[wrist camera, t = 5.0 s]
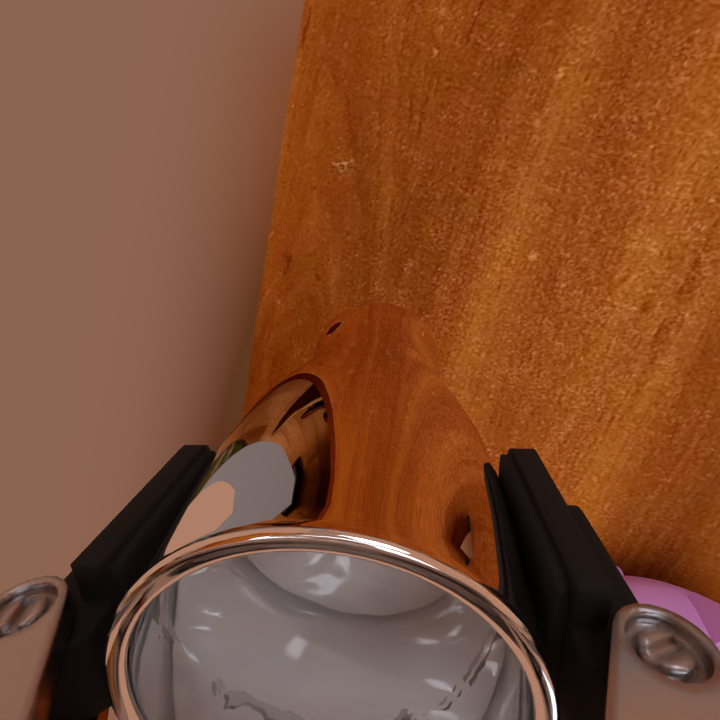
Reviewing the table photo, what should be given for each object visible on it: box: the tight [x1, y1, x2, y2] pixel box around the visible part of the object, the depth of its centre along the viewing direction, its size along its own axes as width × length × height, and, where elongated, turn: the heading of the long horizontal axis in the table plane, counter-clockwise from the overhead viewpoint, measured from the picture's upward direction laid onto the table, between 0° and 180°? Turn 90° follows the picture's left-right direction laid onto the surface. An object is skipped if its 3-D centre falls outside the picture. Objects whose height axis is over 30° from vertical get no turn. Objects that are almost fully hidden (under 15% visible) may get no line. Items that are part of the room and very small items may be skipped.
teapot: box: [616, 566, 720, 650], centre depth 31 cm, size 20×20×15 cm
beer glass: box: [103, 303, 561, 720], centre depth 13 cm, size 7×7×15 cm
